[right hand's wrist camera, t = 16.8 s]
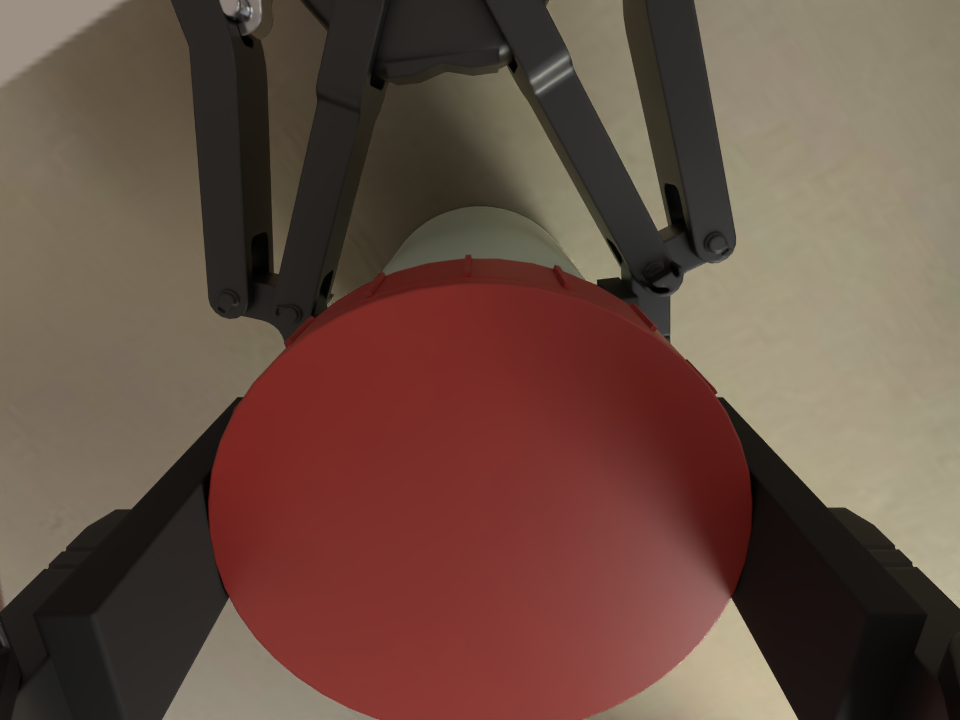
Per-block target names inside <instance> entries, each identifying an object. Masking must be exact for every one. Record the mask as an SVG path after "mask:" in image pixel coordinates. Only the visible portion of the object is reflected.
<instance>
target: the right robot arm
mask: <svg viewBox="0 0 960 720" xmlns="http://www.w3.org/2000/svg"><path fill="white" fill-rule="evenodd" d="M717 398H718V400H719V401H720V403H721V404H722V406H723V407H724V409H725V410H726V412H727V414H728V416H729V418H730V420H731V422H732V424H733V426H734V429H735V431H736V433H737V435H738V437H739V439H740V441H741V445H742V448H743V452H744V455H745V459H746V462H747V466H748V469H749V475H750V483H751V492H752V501H753V508H752V529H751V535H750V540H749V545H748V550H747V555H746V560H745V564H744V567H743V570H742V573H741V575H740V578H739V581H738V584H737V586H736V589H735V591H734V593H733V595H732V596H731V598H732V600H733V601H734V603H735V605H736V607H737V609H738V610H739V612H740V614H741V616H742V618H743V620H744V621H745V623H746V625H747V627H748V629H749V631H750V632H751V634H752V636H753V638H754V640H755V641H756V643H757V645H758V647H759V649H760V651H761V652H762V654H763V656H764V658H765V660H766V661H767V663H768V665H769V667H770V669H771V671H772V672H773V674H774V676H775V678H776V680H777V681H778V683H779V685H780V687H781V689H782V691H783V692H784V694H785V696H786V698H787V700H788V701H789V703H790V705H791V707H792V709H793V711H794V712H795V714H796V716H797V718H798V720H960V609H959V608H958V607H957V606H956V605H955V604H954V603H953V602H952V601H951V600H950V599H949V598H948V597H947V596H946V595H945V594H944V593H943V592H942V591H941V590H940V589H939V588H938V587H937V586H936V585H935V584H934V583H933V582H932V581H931V580H930V579H929V578H928V577H927V576H926V575H925V574H924V573H923V572H922V571H920V570H919V569H918V568H917V567H913V565H912V562H911V561H910V560H909V559H908V558H907V557H906V556H905V555H904V554H903V553H902V552H901V551H900V550H896V549H895V545H894V544H893V543H892V542H891V541H890V540H889V539H888V538H887V537H886V536H885V535H884V534H883V533H882V532H881V531H880V530H878V529H877V528H876V527H875V526H874V525H873V524H871V523H870V522H868V521H866V520H865V519H863V518H861V517H860V516H858V515H856V514H855V513H853V512H851V511H850V510H848V509H846V508H827V507H826V506H825V505H824V504H823V503H822V502H821V501H820V500H819V498H818V497H817V496H816V495H815V494H814V493H813V492H812V491H811V490H810V489H809V488H808V487H807V486H806V485H805V484H804V483H803V482H802V481H801V479H800V478H799V477H798V476H797V475H796V474H795V473H794V472H793V471H792V470H791V469H790V468H789V467H788V466H787V465H786V464H785V463H784V461H783V460H782V459H781V458H780V457H779V456H778V455H777V454H776V453H775V452H774V451H773V450H772V449H771V448H770V447H769V446H768V445H767V443H766V442H765V441H764V440H763V439H762V438H761V437H760V436H759V435H758V434H757V433H756V432H755V431H754V430H753V429H752V428H751V427H750V426H749V424H748V423H747V422H746V421H745V420H744V419H743V418H742V417H741V416H740V415H739V414H738V413H737V412H736V411H735V410H734V409H733V408H732V406H731V405H730V404H729V403H728V402H727V401H726V400H725V399H724V398H723V397H717ZM242 399H243V397H237V398H236V399H235V401H234V402H233V403H232V404H231V405H230V406H229V407H228V408H227V409H226V410H225V411H224V412H223V413H222V414H221V415H220V416H219V417H218V419H217V420H216V421H215V422H214V423H213V424H212V425H211V426H210V427H209V428H208V429H207V430H206V431H205V432H204V433H203V434H202V435H201V436H200V438H199V439H198V440H197V441H196V442H195V443H194V444H193V445H192V446H191V447H190V448H189V449H188V450H187V451H186V452H185V453H184V454H183V456H182V457H181V458H180V459H179V460H178V461H177V462H176V463H175V464H174V465H173V466H172V467H171V468H170V469H169V470H168V471H167V472H166V474H165V475H164V476H163V477H162V478H161V479H160V480H159V481H158V482H157V483H156V484H155V485H154V486H153V487H152V488H151V489H150V490H149V492H148V493H147V494H146V495H145V496H144V497H143V498H142V499H141V500H140V501H139V502H138V503H137V504H136V505H135V506H134V507H133V508H132V509H116V510H114V511H113V512H111V513H109V514H108V515H106V516H104V517H103V518H101V519H99V520H98V521H96V522H94V523H93V524H91V525H89V526H88V527H87V528H85V529H84V530H83V531H82V532H81V533H80V534H79V535H78V536H77V537H76V538H75V539H74V540H73V541H72V542H71V543H70V544H69V545H68V546H67V547H66V551H62V552H61V553H60V554H59V555H58V556H57V557H56V558H55V559H54V560H53V561H52V562H51V563H50V564H49V568H48V569H44V570H43V571H42V572H41V573H40V574H39V575H38V576H37V577H36V578H35V579H34V580H33V581H32V582H31V583H30V584H29V585H27V586H26V587H25V588H24V589H23V590H22V591H21V592H20V593H19V594H18V595H17V596H16V597H15V598H14V599H13V600H12V601H11V602H10V603H9V604H8V605H7V606H6V607H5V608H4V609H3V610H2V611H1V612H0V720H162V719H163V717H164V715H165V713H166V711H167V709H168V708H169V706H170V704H171V702H172V700H173V698H174V697H175V695H176V693H177V691H178V689H179V688H180V686H181V684H182V682H183V680H184V678H185V677H186V675H187V673H188V671H189V669H190V668H191V666H192V664H193V662H194V660H195V658H196V657H197V655H198V653H199V651H200V649H201V648H202V646H203V644H204V642H205V640H206V638H207V637H208V635H209V633H210V631H211V629H212V628H213V626H214V624H215V622H216V620H217V618H218V617H219V615H220V613H221V611H222V609H223V608H224V606H225V604H226V602H227V600H228V598H229V595H228V594H227V592H226V590H225V588H224V585H223V582H222V579H221V577H220V574H219V571H218V568H217V566H216V562H215V557H214V552H213V547H212V542H211V537H210V532H209V519H208V496H209V487H210V479H211V471H212V467H213V464H214V460H215V457H216V453H217V450H218V447H219V443H220V440H221V438H222V436H223V434H224V432H225V429H226V427H227V425H228V423H229V421H230V419H231V417H232V415H233V410H234V408H235V407H236V406H237V405H238V403H239V402H240V401H241V400H242Z"/></svg>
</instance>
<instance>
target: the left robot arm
mask: <svg viewBox="0 0 960 720" xmlns="http://www.w3.org/2000/svg"><path fill="white" fill-rule="evenodd" d="M300 1H301V2H302V3H303V4H304V5H305V6H306V7H307V9H308V10H309V11H310V12H311V13H312V14H313V15H314V16H315V18H316V19H317V20H318V21H319V22H320V23H321V24H322V25H323V27H324V28H325V29H326V30H327V31H328V34H327V38H326V43H325V47H324V52H323V56H322V61H321V65H320V70H319V74H318V79H317V87H316V93H317V107H316V112H315V116H314V121H313V125H312V129H311V134H310V138H309V143H308V147H307V152H306V156H305V161H304V165H303V170H302V174H301V179H300V183H299V188H298V192H297V196H296V201H295V205H294V210H293V214H292V219H291V223H290V228H289V232H288V237H287V241H286V246H285V250H284V255H283V259H282V263H281V268H280V272H279V274H275V273H274V263H273V234H272V205H271V176H270V147H269V118H268V89H267V73H266V63H265V58H264V52H263V47H262V44H261V40H260V39H262V38H264V37H265V36H266V35H267V34H268V33H269V32H270V30H271V28H272V24H273V13H272V2H273V0H171V2H172V4H173V7H174V9H175V12H176V14H177V17H178V19H179V22H180V25H181V27H182V30H183V32H184V35H185V37H186V40H187V42H188V45H189V50H190V63H191V76H192V89H193V102H194V115H195V128H196V141H197V154H198V167H199V180H200V194H201V207H202V220H203V233H204V246H205V259H206V272H207V285H208V298H209V302H210V305H211V307H212V308H213V310H214V311H215V312H216V313H217V314H219V315H220V316H222V317H225V318H228V319H233V318H238V317H240V316H245V317H250V318H254V319H259V320H263V321H266V322H269V323H270V324H272V325H274V326H275V327H276V328H277V329H278V330H279V332H280V333H281V334H282V337H283V339H284V342H285V341H286V340H287V339H288V338H289V337H290V336H291V335H292V334H293V333H294V332H295V331H296V330H297V329H298V328H299V327H300V326H301V325H302V324H303V323H304V322H305V321H306V320H307V319H308V318H309V317H310V316H313V317H314V318H316V317H317V316H318V315H320V314H321V313H322V312H323V311H325V310H326V309H327V304H328V303H329V302H330V301H331V299H332V297H333V295H334V294H330V293H331V289H332V285H333V281H334V278H335V274H336V270H337V266H338V262H339V258H340V254H341V251H342V247H343V243H344V239H345V235H346V231H347V227H348V224H349V220H350V216H351V212H352V208H353V204H354V200H355V197H356V193H357V189H358V185H359V181H360V177H361V173H362V170H363V166H364V162H365V158H366V154H367V150H368V146H369V143H370V139H371V135H372V131H373V127H374V124H375V120H376V118H377V116H378V114H379V112H380V109H381V107H382V103H383V99H384V96H385V92H386V88H387V84H388V82H392V83H394V84H395V85H405V84H413V83H420V82H423V81H426V80H428V79H430V78H432V77H434V76H437V75H439V74H441V73H443V72H453V73H460V74H466V75H472V76H474V75H482V74H489V73H497V72H498V69H500V68H502V67H504V66H506V65H507V67H508V69H509V71H510V72H511V74H512V76H513V78H514V80H515V81H516V83H517V85H518V87H519V88H520V90H521V92H522V93H523V95H524V96H525V97H526V99H527V100H528V102H529V104H530V105H531V107H532V109H533V111H534V112H535V114H536V116H537V118H538V120H539V122H540V123H541V125H542V127H543V129H544V131H545V132H546V134H547V136H548V138H549V140H550V141H551V143H552V145H553V147H554V149H555V150H556V152H557V154H558V156H559V158H560V159H561V161H562V163H563V165H564V167H565V168H566V170H567V172H568V174H569V176H570V178H571V179H572V181H573V183H574V185H575V187H576V188H577V190H578V192H579V194H580V196H581V197H582V199H583V201H584V203H585V205H586V206H587V208H588V210H589V212H590V214H591V215H592V217H593V219H594V221H595V223H596V224H597V226H598V228H599V230H600V232H601V234H602V235H603V237H604V239H605V241H606V243H607V244H608V246H609V248H610V250H611V252H612V253H613V255H614V257H615V259H616V261H617V262H618V264H619V266H620V267H621V279H620V278H619V277H617V278H608V279H599V280H597V286H599V287H601V288H602V289H604V290H606V291H607V292H609V293H611V294H613V295H614V296H616V297H618V298H619V299H621V300H623V301H624V302H626V303H627V304H628V305H630V304H631V303H632V302H633V303H634V304H636V305H637V306H638V307H639V308H640V309H641V310H642V312H643V313H644V314H645V315H646V316H647V317H648V318H649V319H650V320H651V321H652V322H653V323H654V324H655V325H656V326H657V327H658V329H657V330H658V331H659V332H660V333H661V334H662V335H663V336H664V337H665V339H666V340H667V341H668V342H669V343H670V295H672V294H673V293H674V292H675V291H677V290H678V289H679V287H680V285H681V284H682V282H683V275H684V273H686V272H687V271H689V270H692V269H694V268H696V267H698V266H700V265H702V264H704V263H707V262H708V263H719V262H721V261H723V260H725V259H727V258H728V257H729V256H730V255H731V253H732V252H733V250H734V248H735V245H736V234H735V229H734V223H733V217H732V212H731V206H730V200H729V195H728V189H727V184H726V178H725V172H724V167H723V161H722V156H721V150H720V144H719V139H718V133H717V128H716V122H715V116H714V111H713V105H712V100H711V94H710V88H709V83H708V77H707V71H706V66H705V60H704V55H703V49H702V43H701V38H700V32H699V27H698V21H697V15H696V10H695V4H694V0H623V14H624V22H625V28H626V34H627V39H628V43H629V48H630V53H631V57H632V62H633V66H634V71H635V75H636V80H637V85H638V89H639V94H640V98H641V103H642V108H643V112H644V117H645V121H646V126H647V130H648V135H649V140H650V144H651V149H652V153H653V158H654V163H655V167H656V172H657V176H658V181H659V185H660V190H661V195H662V199H663V204H664V208H665V213H666V217H667V222H668V227H666V228H664V229H661V230H659V231H657V229H656V227H655V225H654V223H653V221H652V219H651V217H650V215H649V213H648V211H647V209H646V207H645V205H644V204H643V202H642V200H641V198H640V196H639V194H638V192H637V190H636V188H635V186H634V184H633V182H632V180H631V178H630V177H629V175H628V173H627V171H626V169H625V167H624V165H623V163H622V161H621V159H620V157H619V155H618V153H617V151H616V150H615V148H614V146H613V144H612V142H611V140H610V138H609V136H608V134H607V132H606V130H605V128H604V126H603V124H602V123H601V121H600V119H599V117H598V115H597V113H596V111H595V109H594V107H593V105H592V103H591V101H590V99H589V97H588V96H587V94H586V92H585V90H584V88H583V86H582V84H581V82H580V80H579V78H578V76H577V74H576V72H575V70H574V68H573V64H572V60H571V57H570V54H569V52H568V49H567V47H566V45H565V43H564V41H563V39H562V37H561V35H560V34H559V32H558V30H557V28H556V26H555V24H554V22H553V20H552V18H551V16H550V14H549V12H548V10H547V8H546V5H547V3H548V1H549V0H300ZM285 346H286V345H285ZM286 348H287V346H286Z"/></svg>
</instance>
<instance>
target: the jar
mask: <svg viewBox="0 0 960 720" xmlns="http://www.w3.org/2000/svg"><path fill="white" fill-rule="evenodd" d="M469 254H471V258H473V259H505V260H513V261H520V262H528V263H534V264H538V265H541V266H545V267H549V268H552V269H553V268H554V265H558V266H560V267H561V269H562V270H563V271H564V272H567V273H569V274H571V275H574V276H576V277H579V278H581V279H583V280H585V279H584V278H583V276H582V275H581V274H580V272H579V271H578V270H577V268H576V267H575V266H574V264H573V263H572V262H571V260H570V259H569V258H568V256H567V255H566V254H565V252H564V251H563V250H562V248H561V247H560V246H559V245H558V243H557V242H556V241H555V240H554V239H553V238H552V237H551V235H550V234H549V233H547V232H546V231H545V230H544V229H543V228H542V227H540V226H539V225H538V224H536V223H535V222H533V221H531V220H530V219H528V218H526V217H524V216H522V215H520V214H518V213H515V212H512V211H509V210H505V209H501V208H495V207H485V206H474V207H464V208H460V209H456V210H451V211H448V212H446V213H443V214H441V215H438V216H436V217H434V218H433V219H431V220H429V221H427V222H426V223H424V224H423V225H422V226H420V227H419V228H418V229H416V230H415V231H414V232H413V233H412V234H411V235H410V236H409V237H408V238H407V239H406V240H405V242H404V243H403V244H402V246H401V247H400V248H399V249H398V251H397V252H396V253H395V255H394V256H393V257H392V259H391V260H390V261H389V263H388V264H387V265H386V267H385V268H384V269H383V271H382V272H384V273H385V276H387V275H389V274H391V273H394V272H397V271H400V270H404V269H408V268H412V267H415V266H419V265H423V264H427V263H432V262H440V261H448V260H455V259H463V258H465V255H469ZM382 272H381V273H382Z"/></svg>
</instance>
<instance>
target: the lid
mask: <svg viewBox="0 0 960 720" xmlns="http://www.w3.org/2000/svg"><path fill="white" fill-rule="evenodd" d="M657 329H658V327H657V326H656V325H655V324H654V323H653V322H652V321H651V320H650V319H649V318H648V317H647V316H646V315H645V314H644V313H643V312H642V310H641V309H640V308H639V307H638V306H637V305H636V304H634V303H633V302H632V303H631V304H630V305H628V304H627V303H626V302H624V301H623V300H621V299H619V298H618V297H616V296H614V295H613V294H611V293H609V292H607V291H606V290H604V289H602V288H601V287H599V286H597V285H595V284H593V283H590V282H588V281H586V280H583V279H581V278H579V277H576V276H574V275H571V274H569V273H567V272H564V271H563V270H562V269H561V267H560V266H558V265H554V268H553V269H552V268H549V267H545V266H541V265H538V264H534V263H528V262H520V261H513V260H505V259H473V258H471V254H469V255H465V258H463V259H455V260H448V261H440V262H432V263H427V264H423V265H419V266H415V267H412V268H408V269H404V270H400V271H397V272H394V273H391V274H389V275H387V276H385V273H384V272H382V273H380V274H378V276H377V277H376V278H375V280H374V281H372V282H370V283H367V284H365V285H363V286H361V287H360V288H358V289H356V290H355V291H353V292H351V293H350V294H348V295H346V296H344V297H343V298H341V299H339V300H338V301H336V302H335V303H333V304H332V305H331V306H330V307H328V308H327V309H326V310H325V311H323V312H322V313H321V314H320V315H318V316H317V317H316V318H314V317H313V316H310V317H309V318H308V319H307V320H306V321H305V322H304V323H303V324H302V325H301V326H300V327H299V328H298V329H297V330H296V331H295V332H294V333H293V334H292V335H291V336H290V337H289V338H288V339H287V340H286V341H285V343H284V344H285V345H286V346H287V348H286V349H285V350H284V351H283V352H282V353H281V354H280V355H279V356H278V357H277V358H276V359H275V360H274V361H273V362H272V364H271V365H270V366H269V367H268V368H267V369H266V370H265V371H264V372H263V373H262V374H261V375H260V376H259V377H258V378H257V380H256V381H255V382H254V383H253V384H252V386H251V387H250V389H249V390H248V392H247V393H246V394H245V396H244V397H243V399H242V400H241V401H240V402H239V403H238V405H237V406H236V407H235V408H234V410H233V415H232V417H231V419H230V421H229V423H228V425H227V427H226V429H225V432H224V434H223V436H222V438H221V440H220V443H219V447H218V450H217V453H216V457H215V460H214V464H213V467H212V471H211V479H210V487H209V496H208V519H209V532H210V537H211V542H212V547H213V552H214V557H215V562H216V566H217V568H218V571H219V574H220V577H221V579H222V582H223V585H224V588H225V590H226V592H227V594H228V595H229V597H230V599H231V601H232V603H233V605H234V607H235V609H236V610H237V612H238V614H239V615H240V617H241V618H242V620H243V621H244V622H245V624H246V625H247V627H248V628H249V629H250V631H251V632H252V633H253V635H254V636H255V638H256V639H257V640H258V641H259V642H260V643H261V644H262V645H263V646H264V647H265V648H266V649H267V650H268V652H269V653H270V654H271V655H272V656H273V657H274V658H275V659H276V660H277V661H279V662H280V663H281V664H282V665H283V666H284V667H286V668H287V669H288V670H289V671H290V672H292V673H293V674H294V675H295V676H296V677H298V678H299V679H300V680H302V681H303V682H305V683H306V684H308V685H309V686H311V687H312V688H314V689H315V690H317V691H318V692H320V693H321V694H323V695H325V696H327V697H329V698H331V699H333V700H335V701H337V702H339V703H340V704H342V705H344V706H346V707H348V708H350V709H353V710H355V711H358V712H360V713H363V714H365V715H368V716H370V717H373V718H376V719H379V720H582V719H585V718H588V717H590V716H593V715H595V714H598V713H600V712H603V711H605V710H608V709H610V708H612V707H614V706H616V705H618V704H620V703H622V702H624V701H626V700H628V699H630V698H632V697H634V696H636V695H638V694H639V693H641V692H642V691H644V690H645V689H647V688H648V687H650V686H651V685H653V684H654V683H656V682H657V681H659V680H660V679H662V678H663V677H664V676H665V675H667V674H668V673H669V672H670V671H671V670H673V669H674V668H675V667H676V666H677V665H679V664H680V663H681V662H682V661H683V660H685V658H686V657H687V656H688V655H689V654H690V653H691V652H692V651H693V650H694V649H695V648H696V647H697V646H698V645H699V644H700V643H701V641H702V640H703V639H704V638H705V637H706V636H707V634H708V633H709V631H710V630H711V629H712V627H713V626H714V625H715V623H716V622H717V620H718V619H719V618H720V616H721V615H722V613H723V611H724V609H725V608H726V606H727V604H728V602H729V600H730V598H731V596H732V595H733V593H734V591H735V589H736V586H737V584H738V581H739V578H740V575H741V573H742V570H743V567H744V564H745V560H746V555H747V550H748V545H749V540H750V535H751V529H752V508H753V501H752V492H751V483H750V475H749V469H748V466H747V462H746V459H745V455H744V452H743V448H742V445H741V441H740V439H739V437H738V435H737V433H736V431H735V429H734V426H733V424H732V422H731V420H730V418H729V416H728V414H727V412H726V410H725V409H724V407H723V406H722V404H721V403H720V401H719V400H718V398H717V397H716V395H715V394H717V391H716V390H715V388H714V387H713V386H712V385H711V384H710V383H709V382H708V381H707V380H706V379H705V378H704V377H703V376H702V374H701V373H700V372H699V371H698V370H697V369H696V368H695V367H694V366H693V365H692V364H691V363H690V362H689V361H688V360H687V359H686V360H685V359H684V358H683V357H682V356H681V355H680V353H679V352H678V351H677V350H676V349H675V348H674V347H673V346H672V345H671V344H670V343H669V342H668V341H667V340H666V339H665V337H664V336H663V335H662V334H661V333H660V332H659V331H658V330H657Z"/></svg>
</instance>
